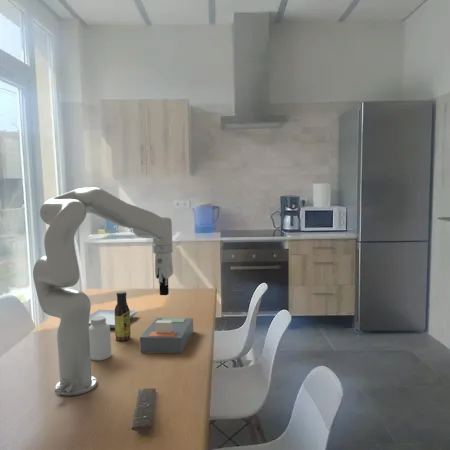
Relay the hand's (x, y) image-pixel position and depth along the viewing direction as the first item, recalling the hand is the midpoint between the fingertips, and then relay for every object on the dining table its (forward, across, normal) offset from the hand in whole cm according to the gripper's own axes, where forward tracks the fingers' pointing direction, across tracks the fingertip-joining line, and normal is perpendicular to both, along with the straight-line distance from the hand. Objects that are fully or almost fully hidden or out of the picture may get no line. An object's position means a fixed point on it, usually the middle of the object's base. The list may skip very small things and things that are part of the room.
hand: (164, 294), depth 170 cm
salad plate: (+21, +27, +35) cm, 49 cm away
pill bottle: (+21, -13, +22) cm, 33 cm away
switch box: (+20, +4, 0) cm, 21 cm away
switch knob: (+14, -2, 0) cm, 14 cm away
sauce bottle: (+21, +6, +20) cm, 29 cm away
